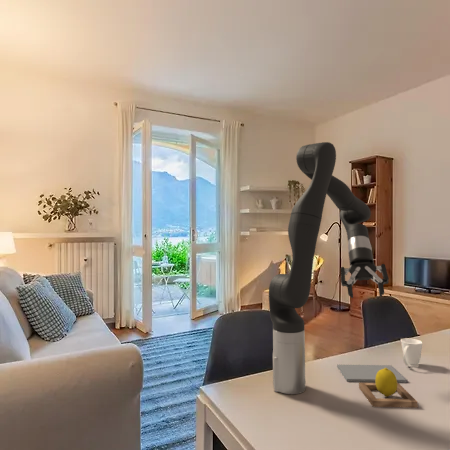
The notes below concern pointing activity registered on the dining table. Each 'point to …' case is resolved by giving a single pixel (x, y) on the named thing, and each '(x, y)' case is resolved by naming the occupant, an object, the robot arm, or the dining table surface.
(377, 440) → the dining table surface
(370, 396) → the square seat
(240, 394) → the dining table surface
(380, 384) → the lemon
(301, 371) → the robot arm
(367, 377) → the mat
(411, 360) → the cup
